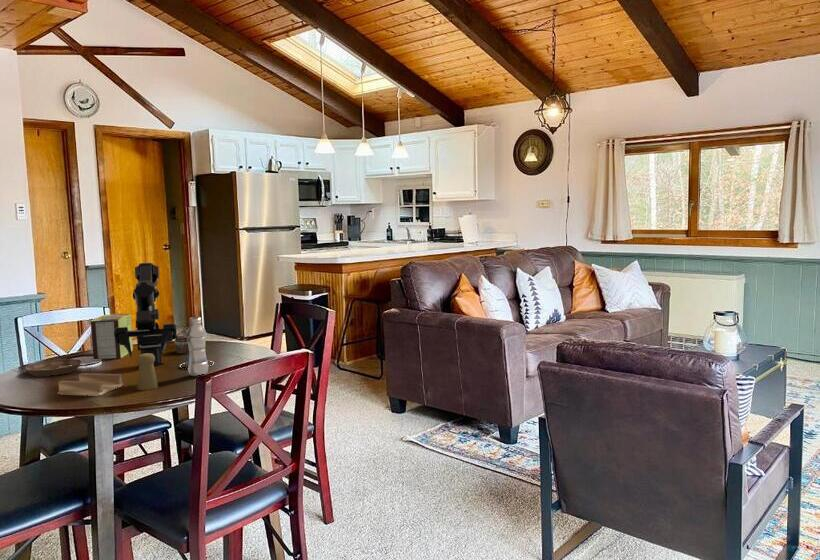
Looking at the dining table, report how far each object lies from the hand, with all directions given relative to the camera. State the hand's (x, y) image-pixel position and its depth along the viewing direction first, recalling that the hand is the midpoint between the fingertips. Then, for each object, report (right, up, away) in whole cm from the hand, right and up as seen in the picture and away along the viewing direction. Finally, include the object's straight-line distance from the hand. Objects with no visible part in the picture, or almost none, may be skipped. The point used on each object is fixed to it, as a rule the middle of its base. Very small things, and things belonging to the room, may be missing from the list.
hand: (146, 354), depth 197 cm
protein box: (-33, -6, +47) cm, 58 cm away
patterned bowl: (+7, -8, +27) cm, 29 cm away
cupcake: (-5, -5, +51) cm, 52 cm away
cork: (+1, -11, -2) cm, 11 cm away
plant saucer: (-42, -9, +22) cm, 49 cm away
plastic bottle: (+13, -9, +12) cm, 20 cm away
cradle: (-16, -11, -3) cm, 20 cm away
